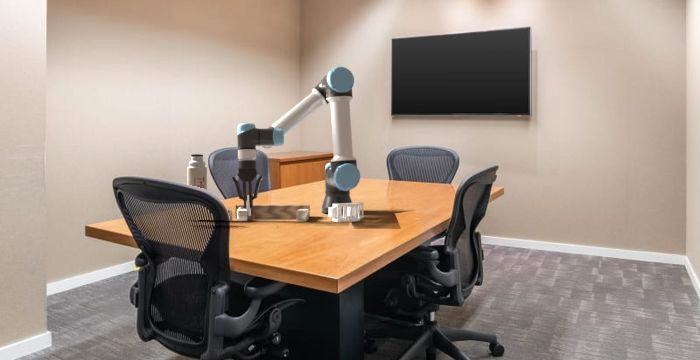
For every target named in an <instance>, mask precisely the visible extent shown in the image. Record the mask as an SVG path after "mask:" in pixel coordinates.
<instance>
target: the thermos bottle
mask: <svg viewBox="0 0 700 360" xmlns="http://www.w3.org/2000/svg"><path fill="white" fill-rule="evenodd" d="M190 156H191V158H190V159H191V160H190V161H189V162H188V166H187V168H186V169H187V170H186V174H187V177H186V180H187V181H186V182H187V183H186V185H192V186H197V187H200V188H204V189H206V190H207V191H208V179H207V178H208V168H207V167H206V162H205V161H204V154H201V153H196V154H195V153H194V154H193V153H192V154H190Z"/></svg>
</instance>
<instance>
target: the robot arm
mask: <svg viewBox="0 0 700 360" xmlns="http://www.w3.org/2000/svg"><path fill="white" fill-rule="evenodd" d="M354 84H355V76H354V74H353V73H352V71H350V69H349V68H347V67H344V66H336V67H334V68H332V69H330V70H329V71H328V73H326V75H325V76H324V77H322V79H321V80H320V82H318V84H316V86H315V87H313V88H312V92H311V93H310V94H308V95H307V96H306V97H304V99H302V100H301V101H300V102H299V103H297V104H296V105H294V106H293V108H291V109H290V110H289V111H287V112H286V113H285V114H284V115H282V116H281V117H280V118H279V119H277V121H275V122H274V123H273V124H271V125H270V126H269V127H268V128H257V126H256V124H255V123H253V122H252V123H249V122H244V123H239V124H238V125H237V133H236V134H237V160H238V161H237V164H238V165H237V166H238V167H237V168H238V169H237V174H236V175H235V176H233V177H232V178H231V179H232V181H233V182H234V185H235V189H236V192H237V195H238V198H239V200H242V201H243V205H244V208H246V210H247V216H251V208H253V205H254V200H255V199H257V198H258V196H259V190H260V186H261V182H262V181H263V179H264V176H262V175H260V174H258V171H257V160H256V159H257V147H262V148H264V149H271V148H272V147H281V146H284V143H285V137H286V136H287V135H288V134H289V133H290V132H291V131H293V130H294V129H295V128H296V127H298V126H299V125H300V124H301V123H303V122H304V121H305V120H306V119H307V118H309V117H310V116H311V115H312V114H313V113H315V112H316V111H318V110H319V109H320V108H321V107H322V106H327V105H328V104H329V105H330V107H329V108H330V119H331V135H332V136H331V138H332V150H333V151H332V153H333V157H332V158H331V160H330V162H328V163H326V164H325V168H324V179H325V180H324V182H325V183H324V189H325V190H324V197H323V201H322V205H321V213H327V214H329V207H332V204H337V203H353V201H352V198H351V190H354V189H355V188H356V187H357V186H358V185H359V183H360V180H361V172H360V170H359V168H358V163H357V158H356V157H354V155H353V153H354V151H353V150H354V149H353V138H352V125H351V124H352V123H351V122H352V121H351V109H350V107H351V105H350V102H351V100H352V99H353V88H354ZM255 179H256V183H255V188H254V181H255ZM239 180H240V181H241V182H242V188H241V185H240V182H239ZM342 214H343V207H342Z"/></svg>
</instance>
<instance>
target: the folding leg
mask: <svg viewBox="0 0 700 360" xmlns="http://www.w3.org/2000/svg"><path fill="white" fill-rule="evenodd" d="M236 220H237V221H238V222H247V221H248V219H247V210H246V209H244V207H239V209H237V219H236Z"/></svg>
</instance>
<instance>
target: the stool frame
mask: <svg viewBox="0 0 700 360" xmlns="http://www.w3.org/2000/svg"><path fill="white" fill-rule="evenodd" d="M239 207H244V204H236V205H235V220H238V219H237V209H239ZM244 209H246V208H244ZM227 210H228V213H229V216H230V222H232V221H233V209H227ZM310 212H311V205H310V204H253V208H251V216H247V220H296V223H297V222H298V223H300V222H301V223H302V222H303V223H305V222H307V221H308V220H309V219H310V217H311V216H310V215H311V213H310Z"/></svg>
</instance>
